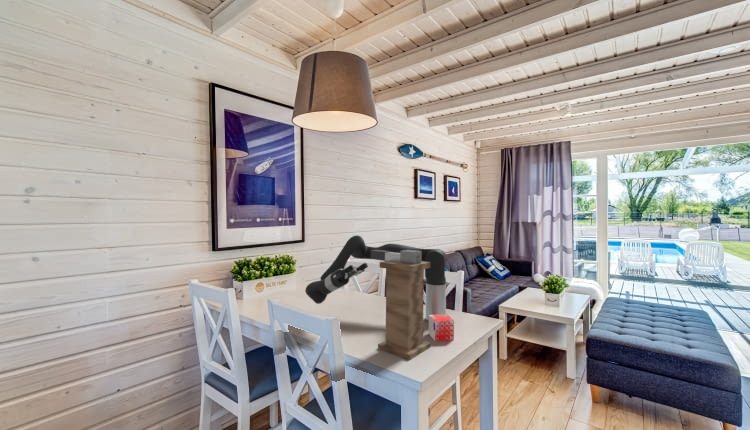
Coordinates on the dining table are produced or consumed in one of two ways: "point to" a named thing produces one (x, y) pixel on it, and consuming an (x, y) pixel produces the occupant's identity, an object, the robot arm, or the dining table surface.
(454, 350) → the dining table surface
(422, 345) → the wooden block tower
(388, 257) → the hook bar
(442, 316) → the puzzle cube
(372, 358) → the dining table surface
